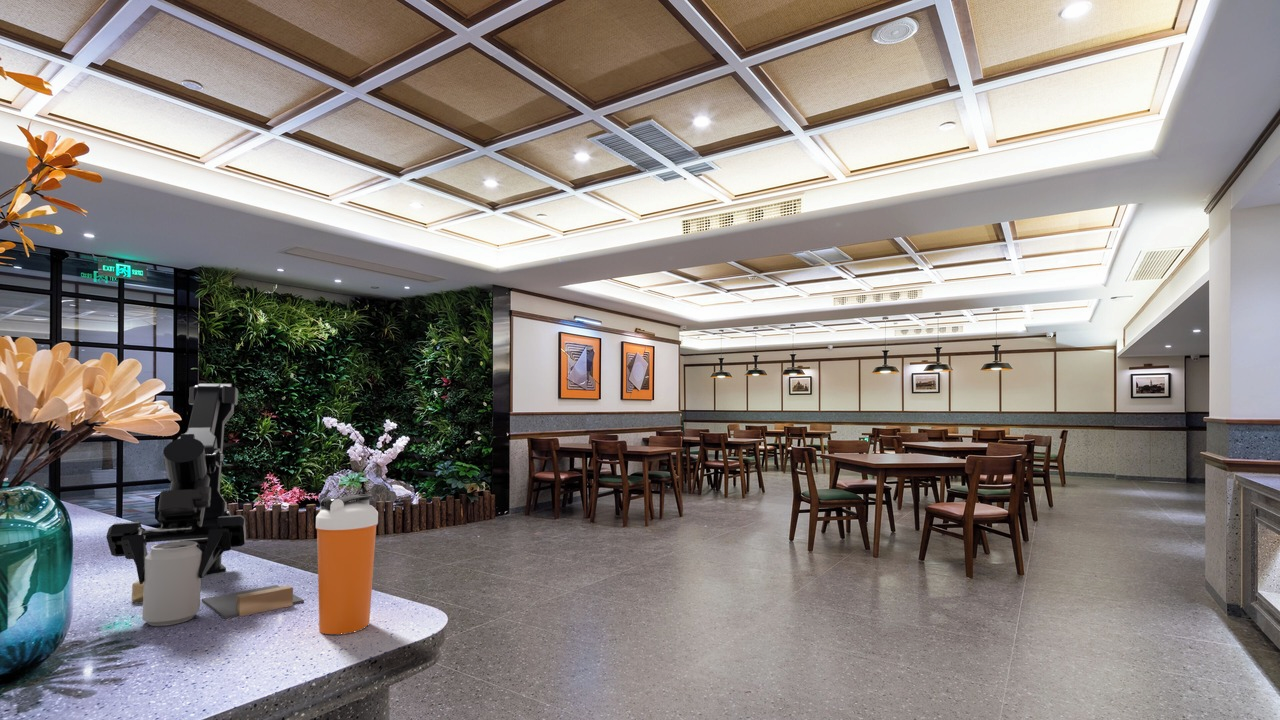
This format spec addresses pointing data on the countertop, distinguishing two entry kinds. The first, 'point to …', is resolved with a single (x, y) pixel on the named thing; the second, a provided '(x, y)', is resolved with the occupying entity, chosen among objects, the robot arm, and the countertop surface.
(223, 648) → the countertop surface
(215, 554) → the robot arm
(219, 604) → the seat pad
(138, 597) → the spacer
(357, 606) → the shaker bottle
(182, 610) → the can
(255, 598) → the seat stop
